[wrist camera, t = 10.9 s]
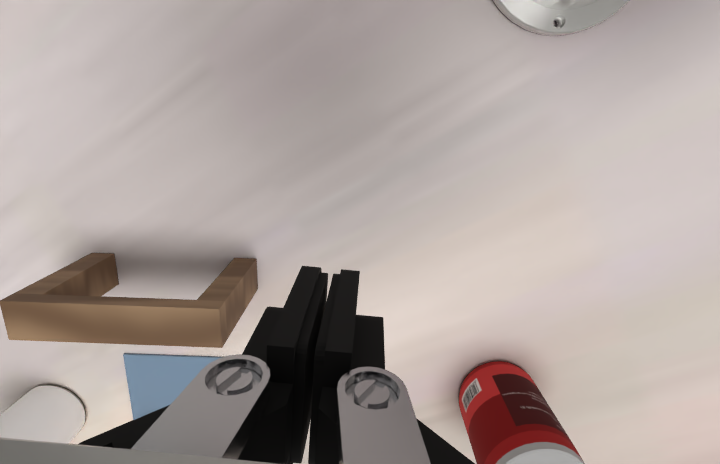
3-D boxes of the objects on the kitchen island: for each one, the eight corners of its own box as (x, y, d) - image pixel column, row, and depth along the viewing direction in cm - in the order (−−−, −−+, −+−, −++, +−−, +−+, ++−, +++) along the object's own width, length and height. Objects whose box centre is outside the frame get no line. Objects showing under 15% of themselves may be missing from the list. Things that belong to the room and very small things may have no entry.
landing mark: (124, 353, 40) (123, 354, 39) (245, 357, 40) (244, 359, 39) (139, 450, 43) (138, 451, 43) (251, 454, 43) (250, 456, 43)
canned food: (463, 431, 42) (496, 538, 31) (450, 366, 40) (480, 459, 29) (537, 417, 41) (596, 522, 31) (528, 351, 39) (588, 440, 28)
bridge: (92, 252, 37) (-1, 301, 27) (256, 258, 37) (219, 309, 27) (97, 283, 37) (8, 339, 28) (257, 288, 37) (222, 347, 28)
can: (59, 372, 40) (-64, 476, 29) (101, 418, 42) (1, 534, 30) (12, 399, 41) (-124, 509, 30) (55, 443, 43) (-59, 564, 31)
